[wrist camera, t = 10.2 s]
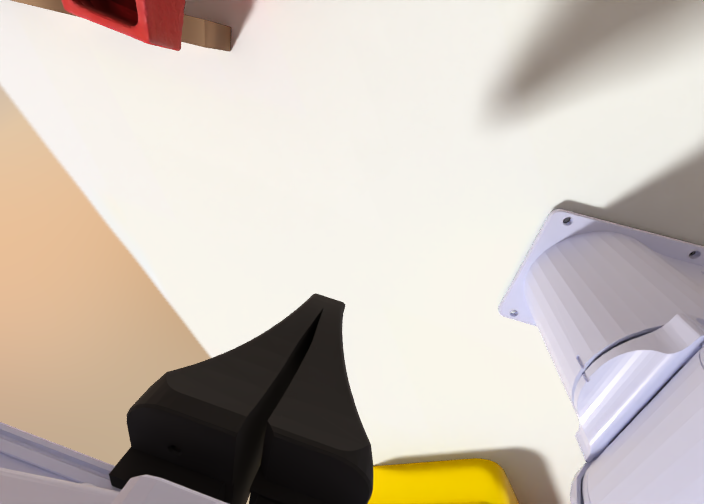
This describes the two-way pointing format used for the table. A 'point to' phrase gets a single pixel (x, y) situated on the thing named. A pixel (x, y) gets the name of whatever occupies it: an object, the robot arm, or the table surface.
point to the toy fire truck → (136, 18)
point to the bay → (192, 29)
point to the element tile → (442, 483)
